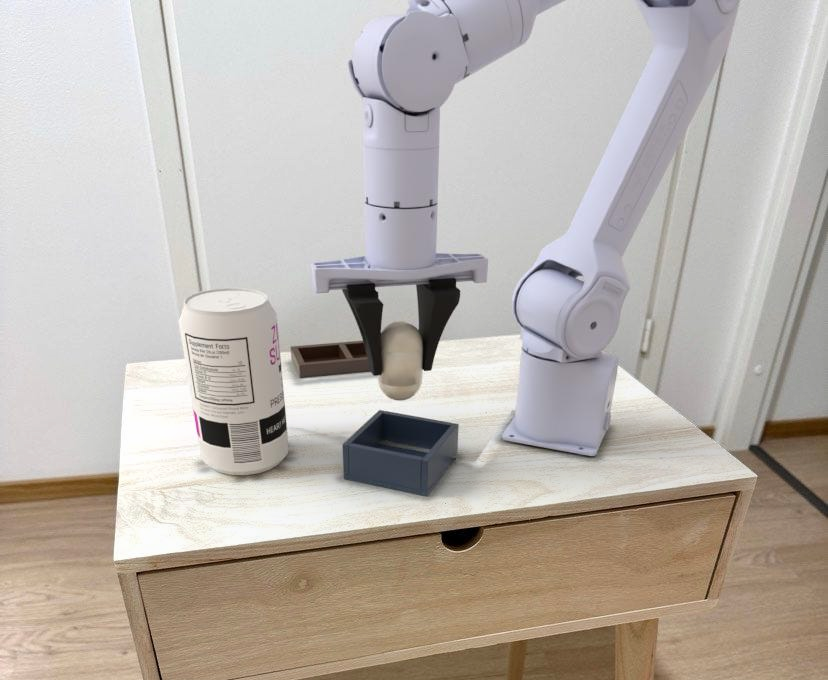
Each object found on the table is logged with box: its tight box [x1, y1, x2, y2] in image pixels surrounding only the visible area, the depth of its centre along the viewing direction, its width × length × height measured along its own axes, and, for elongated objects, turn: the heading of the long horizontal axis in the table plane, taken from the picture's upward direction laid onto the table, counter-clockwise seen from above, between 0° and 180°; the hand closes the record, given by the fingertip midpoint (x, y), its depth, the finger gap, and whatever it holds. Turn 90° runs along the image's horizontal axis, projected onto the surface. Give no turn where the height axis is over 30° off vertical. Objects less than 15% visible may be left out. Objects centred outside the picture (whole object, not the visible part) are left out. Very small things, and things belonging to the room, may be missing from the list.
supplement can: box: [178, 287, 289, 476], centre depth 68 cm, size 8×8×15 cm
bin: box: [341, 409, 460, 497], centre depth 70 cm, size 8×8×4 cm
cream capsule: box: [377, 320, 424, 402], centre depth 66 cm, size 4×4×7 cm
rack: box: [290, 340, 371, 379], centre depth 91 cm, size 7×12×2 cm, turn 106°
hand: (400, 369), depth 67 cm, fingers closed on cream capsule, 4 cm apart
